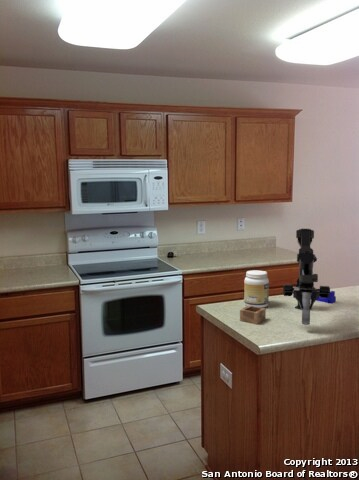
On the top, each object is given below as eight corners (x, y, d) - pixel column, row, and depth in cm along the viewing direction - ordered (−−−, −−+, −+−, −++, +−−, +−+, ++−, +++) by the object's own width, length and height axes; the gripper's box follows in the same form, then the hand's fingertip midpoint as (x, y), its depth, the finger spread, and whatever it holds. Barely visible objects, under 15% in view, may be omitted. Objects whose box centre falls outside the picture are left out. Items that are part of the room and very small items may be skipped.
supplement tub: (268, 309, 204) (269, 275, 201) (243, 308, 206) (243, 274, 204) (268, 302, 216) (268, 269, 213) (244, 301, 218) (244, 269, 216)
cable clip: (335, 302, 214) (336, 290, 213) (331, 304, 211) (332, 292, 210) (313, 297, 222) (314, 286, 222) (309, 299, 219) (310, 288, 218)
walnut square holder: (248, 315, 195) (248, 305, 194) (265, 319, 190) (265, 308, 189) (240, 320, 188) (240, 310, 188) (256, 324, 183) (256, 313, 182)
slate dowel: (303, 321, 176) (304, 291, 174) (310, 323, 174) (311, 292, 172) (300, 323, 173) (301, 293, 171) (308, 325, 171) (309, 294, 170)
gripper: (283, 265, 176) (283, 298, 167) (330, 267, 172) (332, 301, 163) (283, 279, 185) (282, 311, 176) (328, 281, 180) (329, 314, 171)
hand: (306, 309), depth 171 cm, fingers closed on slate dowel, 3 cm apart
